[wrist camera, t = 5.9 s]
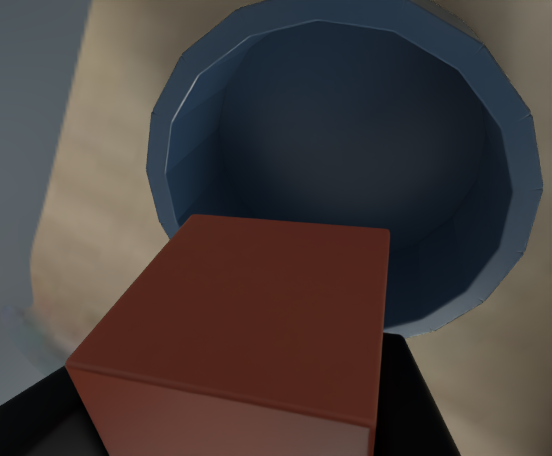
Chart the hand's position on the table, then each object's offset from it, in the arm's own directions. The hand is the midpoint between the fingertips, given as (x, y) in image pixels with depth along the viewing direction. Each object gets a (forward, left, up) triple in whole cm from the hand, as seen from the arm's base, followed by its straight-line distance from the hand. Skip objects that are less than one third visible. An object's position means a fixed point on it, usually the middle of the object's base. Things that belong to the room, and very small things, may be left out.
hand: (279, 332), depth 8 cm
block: (0, 0, -1) cm, 1 cm away
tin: (0, 0, -10) cm, 10 cm away
